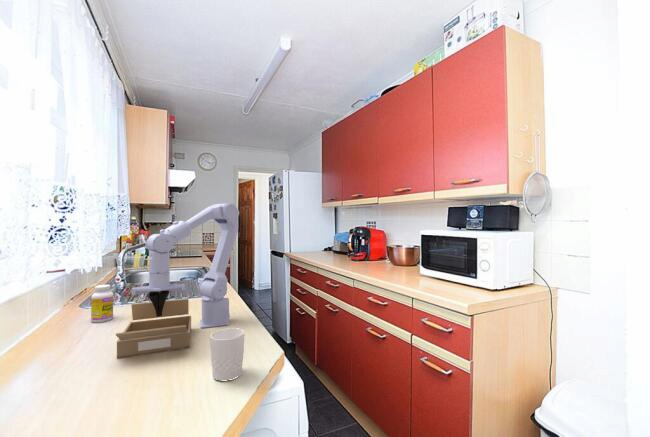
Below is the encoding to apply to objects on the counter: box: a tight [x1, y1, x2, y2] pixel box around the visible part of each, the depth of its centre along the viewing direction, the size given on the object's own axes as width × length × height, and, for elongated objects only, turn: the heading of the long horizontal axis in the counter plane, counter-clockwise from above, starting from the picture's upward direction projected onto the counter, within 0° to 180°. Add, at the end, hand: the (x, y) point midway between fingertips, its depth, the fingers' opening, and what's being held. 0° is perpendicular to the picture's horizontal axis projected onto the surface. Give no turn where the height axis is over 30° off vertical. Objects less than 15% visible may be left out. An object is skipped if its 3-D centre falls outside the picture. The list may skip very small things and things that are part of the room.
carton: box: [116, 315, 192, 359], centre depth 94 cm, size 18×17×4 cm
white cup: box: [209, 327, 245, 380], centre depth 74 cm, size 8×8×10 cm
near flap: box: [115, 325, 187, 340], centre depth 84 cm, size 16×6×1 cm
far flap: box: [131, 298, 190, 321], centre depth 100 cm, size 16×6×1 cm
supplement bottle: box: [90, 284, 114, 324], centre depth 114 cm, size 7×7×13 cm
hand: (159, 315), depth 95 cm, fingers closed
